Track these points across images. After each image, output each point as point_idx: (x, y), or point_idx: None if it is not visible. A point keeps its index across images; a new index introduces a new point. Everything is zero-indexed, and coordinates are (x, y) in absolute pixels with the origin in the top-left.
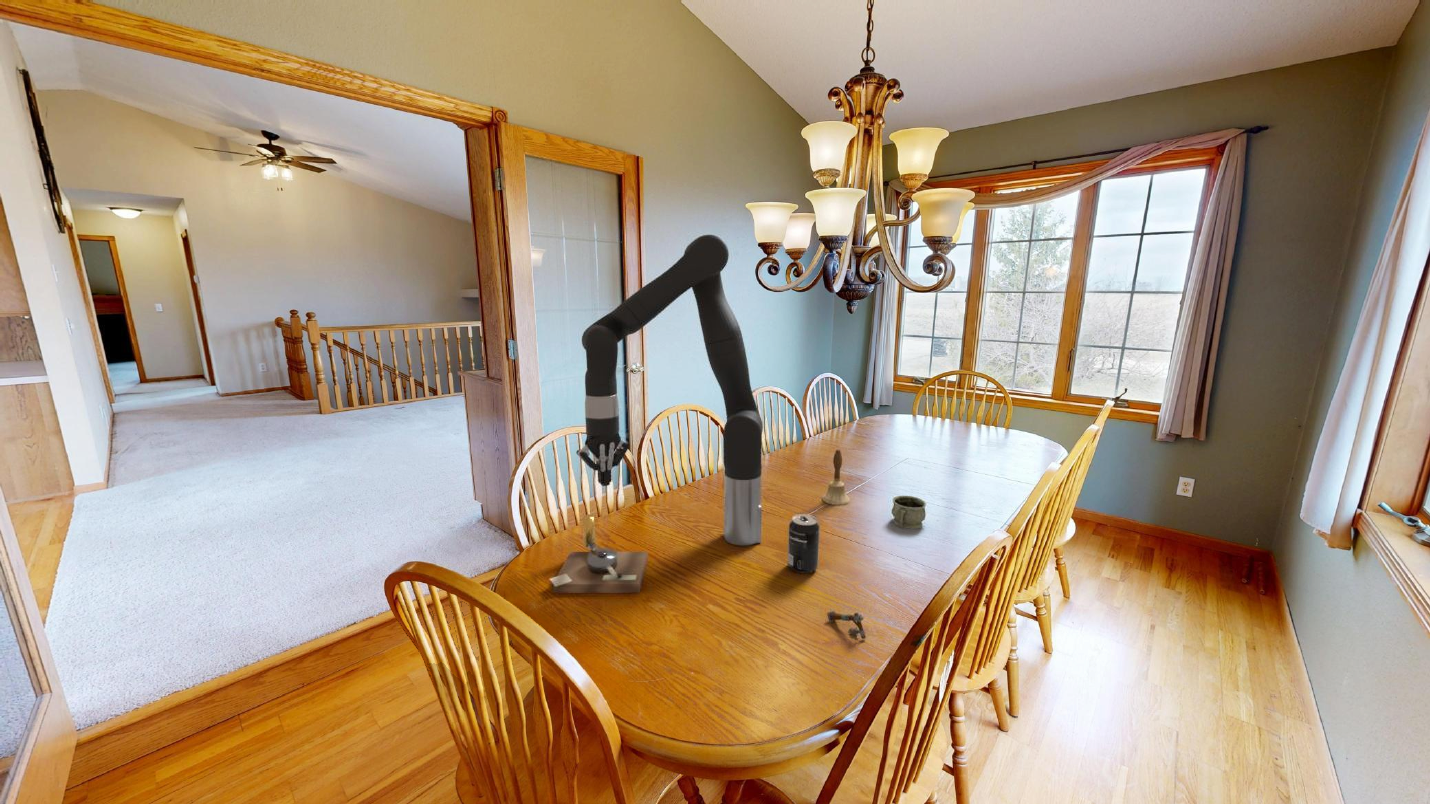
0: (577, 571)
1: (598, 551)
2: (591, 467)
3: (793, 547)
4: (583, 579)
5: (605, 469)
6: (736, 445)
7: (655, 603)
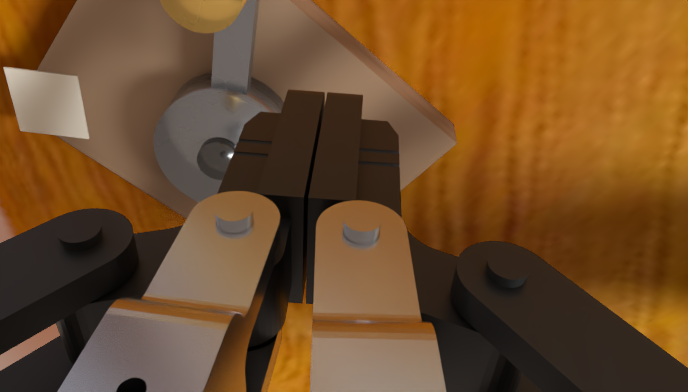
0: (127, 89)
1: (220, 115)
2: (35, 363)
3: None
4: (133, 153)
5: (281, 330)
6: None
7: (302, 317)
